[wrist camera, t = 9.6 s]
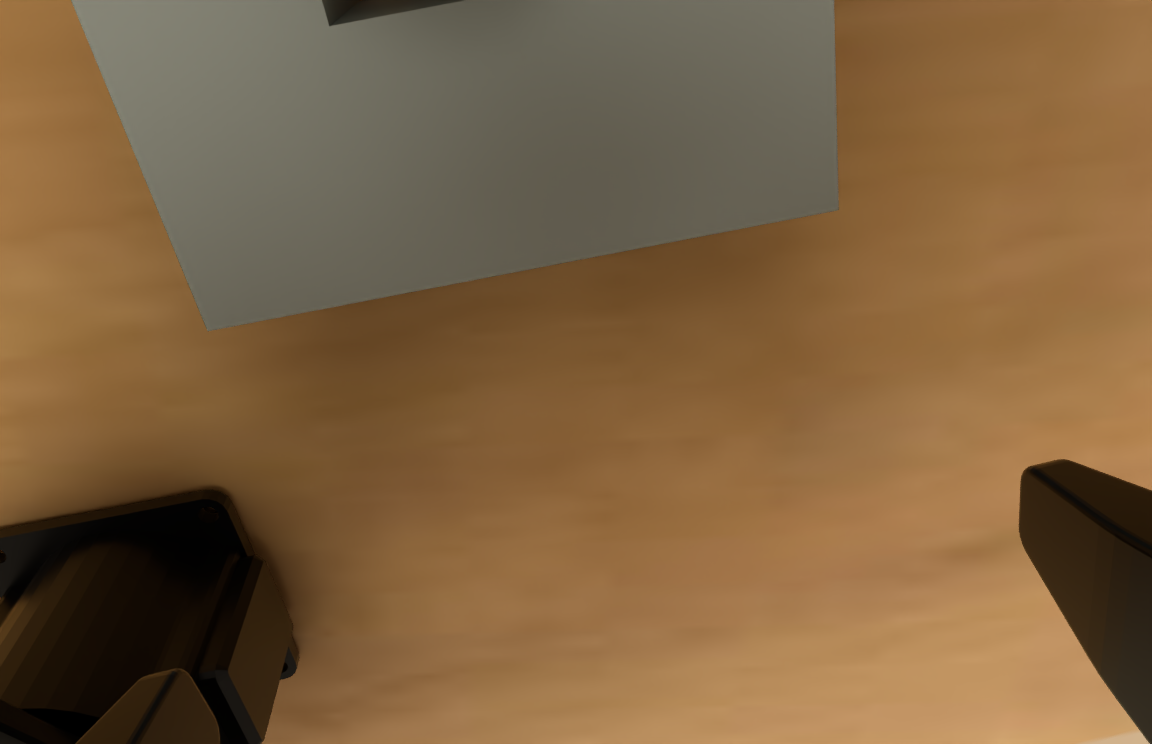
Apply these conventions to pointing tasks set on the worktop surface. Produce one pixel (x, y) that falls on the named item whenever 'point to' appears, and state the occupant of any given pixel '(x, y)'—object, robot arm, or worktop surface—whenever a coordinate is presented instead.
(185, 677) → the robot arm
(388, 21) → the hole block
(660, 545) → the worktop surface
